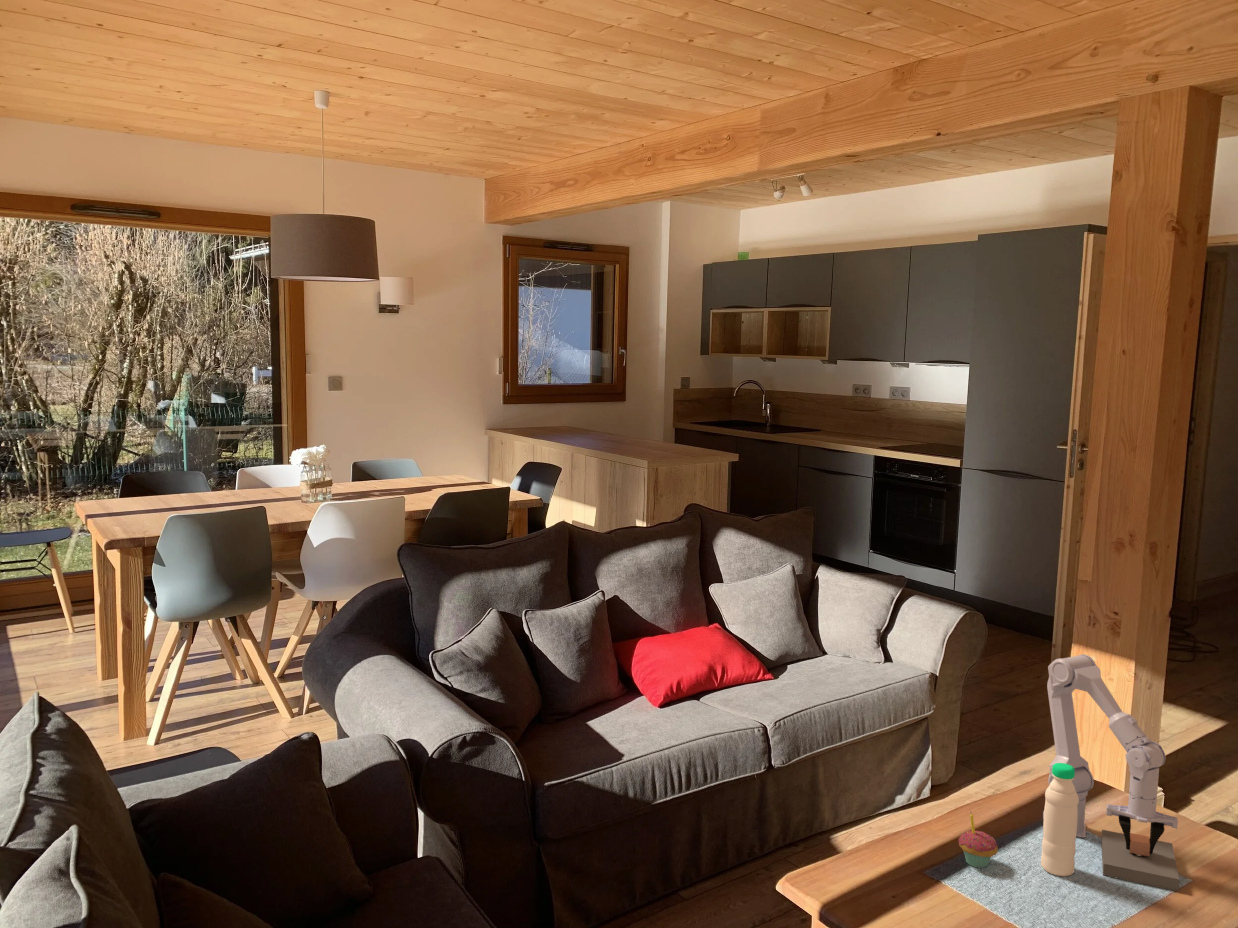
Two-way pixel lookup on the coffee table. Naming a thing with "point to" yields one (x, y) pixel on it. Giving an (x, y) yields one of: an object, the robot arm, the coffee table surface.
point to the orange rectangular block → (1139, 844)
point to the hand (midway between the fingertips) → (1138, 849)
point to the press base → (1139, 862)
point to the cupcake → (977, 846)
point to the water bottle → (1060, 822)
